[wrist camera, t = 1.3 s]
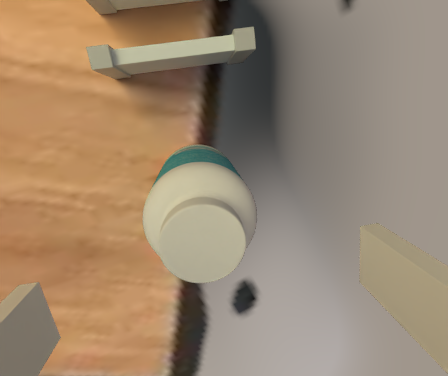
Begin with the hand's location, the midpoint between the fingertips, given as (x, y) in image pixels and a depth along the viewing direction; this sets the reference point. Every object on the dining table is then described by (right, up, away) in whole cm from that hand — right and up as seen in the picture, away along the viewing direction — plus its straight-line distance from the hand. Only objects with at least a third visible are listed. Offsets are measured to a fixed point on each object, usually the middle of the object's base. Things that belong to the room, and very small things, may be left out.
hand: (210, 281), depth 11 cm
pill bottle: (-2, +5, +16) cm, 17 cm away
